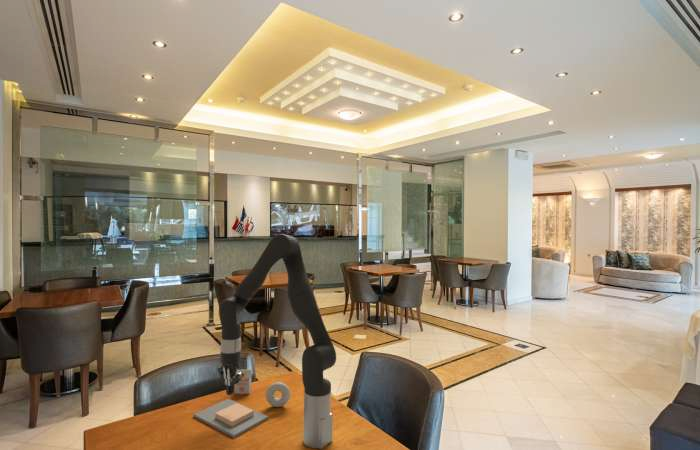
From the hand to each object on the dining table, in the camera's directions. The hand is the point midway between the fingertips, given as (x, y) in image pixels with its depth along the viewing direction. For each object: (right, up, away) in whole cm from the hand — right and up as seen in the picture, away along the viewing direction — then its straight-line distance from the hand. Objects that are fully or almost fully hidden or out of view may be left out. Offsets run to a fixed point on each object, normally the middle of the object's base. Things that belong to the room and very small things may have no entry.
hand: (229, 394), depth 141 cm
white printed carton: (-1, -9, +21) cm, 23 cm away
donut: (+17, -10, +9) cm, 21 cm away
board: (+1, -9, -1) cm, 9 cm away
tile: (+2, -7, -2) cm, 8 cm away
